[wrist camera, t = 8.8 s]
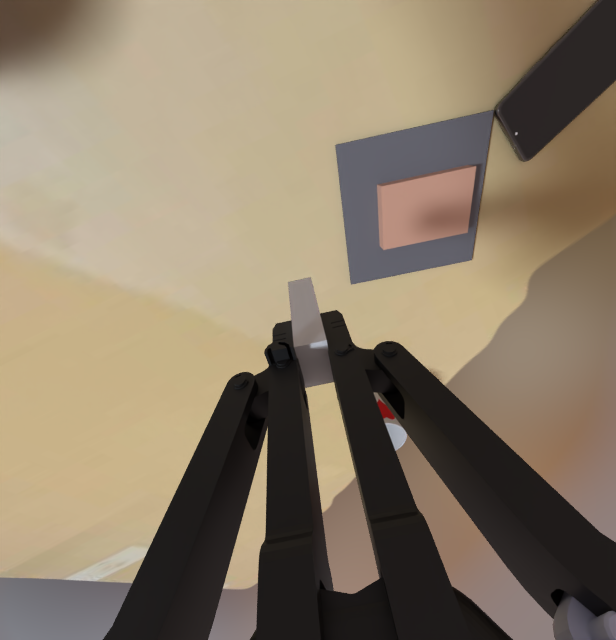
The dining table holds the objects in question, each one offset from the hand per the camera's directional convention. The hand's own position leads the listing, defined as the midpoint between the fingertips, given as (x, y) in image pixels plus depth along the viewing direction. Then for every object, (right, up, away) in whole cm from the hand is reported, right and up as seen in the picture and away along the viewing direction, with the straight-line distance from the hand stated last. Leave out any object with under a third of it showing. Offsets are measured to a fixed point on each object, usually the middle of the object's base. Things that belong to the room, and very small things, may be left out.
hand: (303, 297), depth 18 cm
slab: (+9, +10, +13) cm, 19 cm away
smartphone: (+27, +23, +9) cm, 36 cm away
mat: (+12, +12, +14) cm, 22 cm away
